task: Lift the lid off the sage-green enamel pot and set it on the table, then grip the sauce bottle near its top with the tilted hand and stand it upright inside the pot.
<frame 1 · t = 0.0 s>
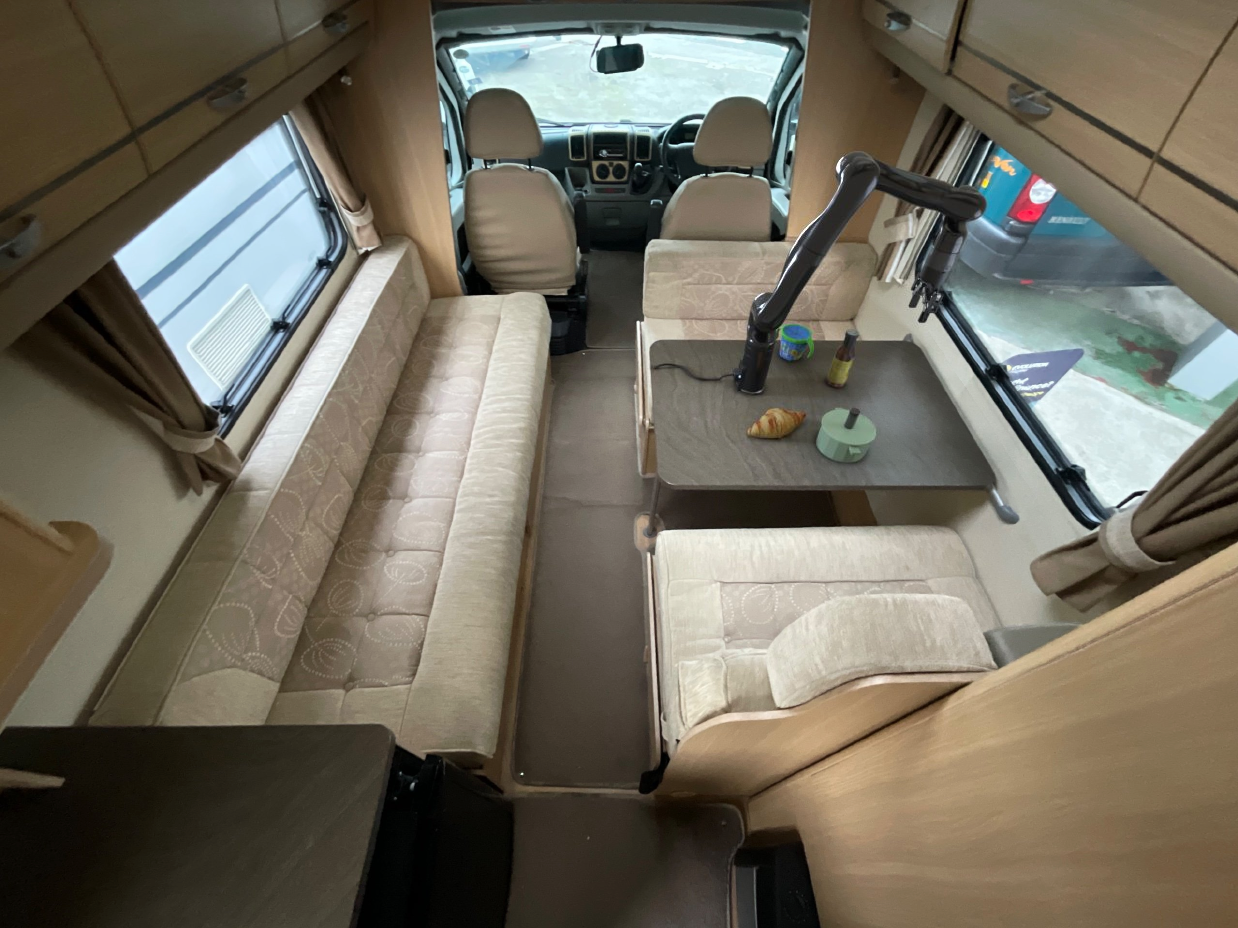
hand: (916, 314, 169), 29 cm above the table, tool pointing down, fingers open, 8 cm apart
pot: (840, 445, 170), on the table
sauce bottle: (834, 383, 193), on the table
pot lid: (848, 427, 165), point 7 cm above the table, touching pot
croissant: (774, 428, 176), on the table
snack cup: (789, 356, 203), on the table
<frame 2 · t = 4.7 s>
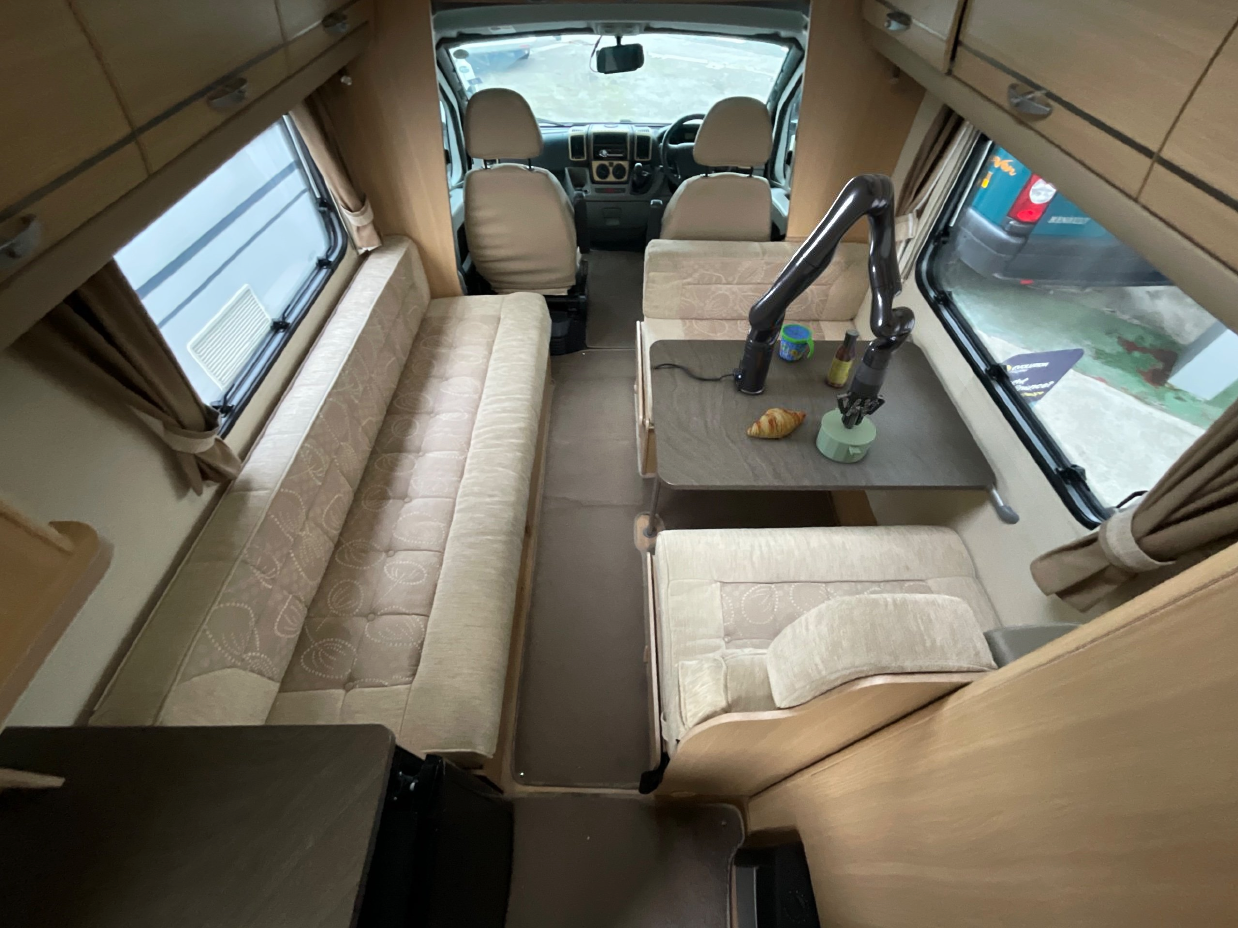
hand: (850, 423, 164), 9 cm above the table, tool pointing down, fingers closed on pot lid, 3 cm apart
pot lid: (848, 427, 165), point 7 cm above the table, touching gripper, pot
everything else where it was.
when the fingers open (2 cm above the table, at t = 12.7 s): pot lid stays where it is, point 1 cm above the table.
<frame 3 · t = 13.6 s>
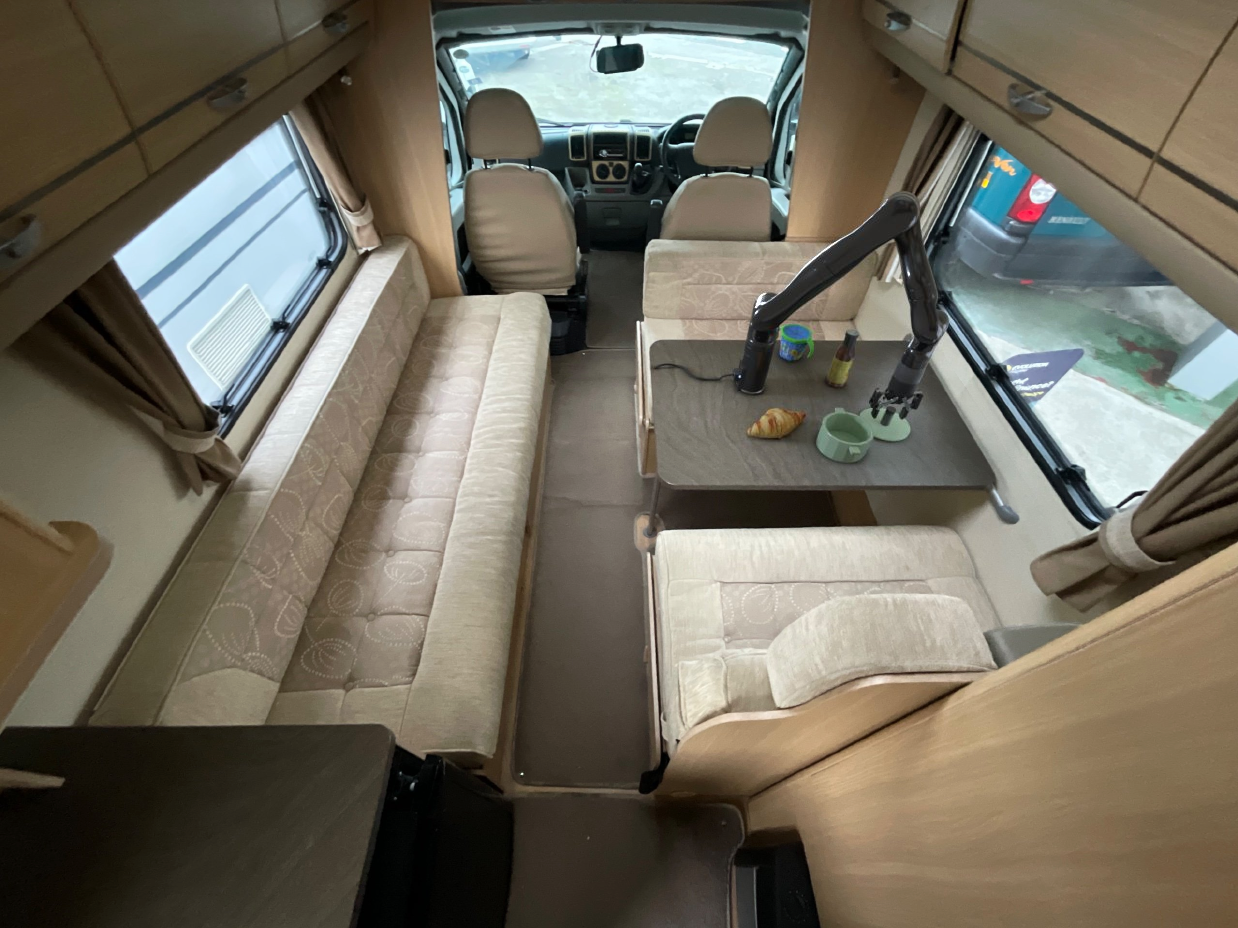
hand: (887, 417, 175), 4 cm above the table, tool pointing down, fingers open, 8 cm apart
pot lid: (883, 424, 177), point 1 cm above the table
everything else where it was.
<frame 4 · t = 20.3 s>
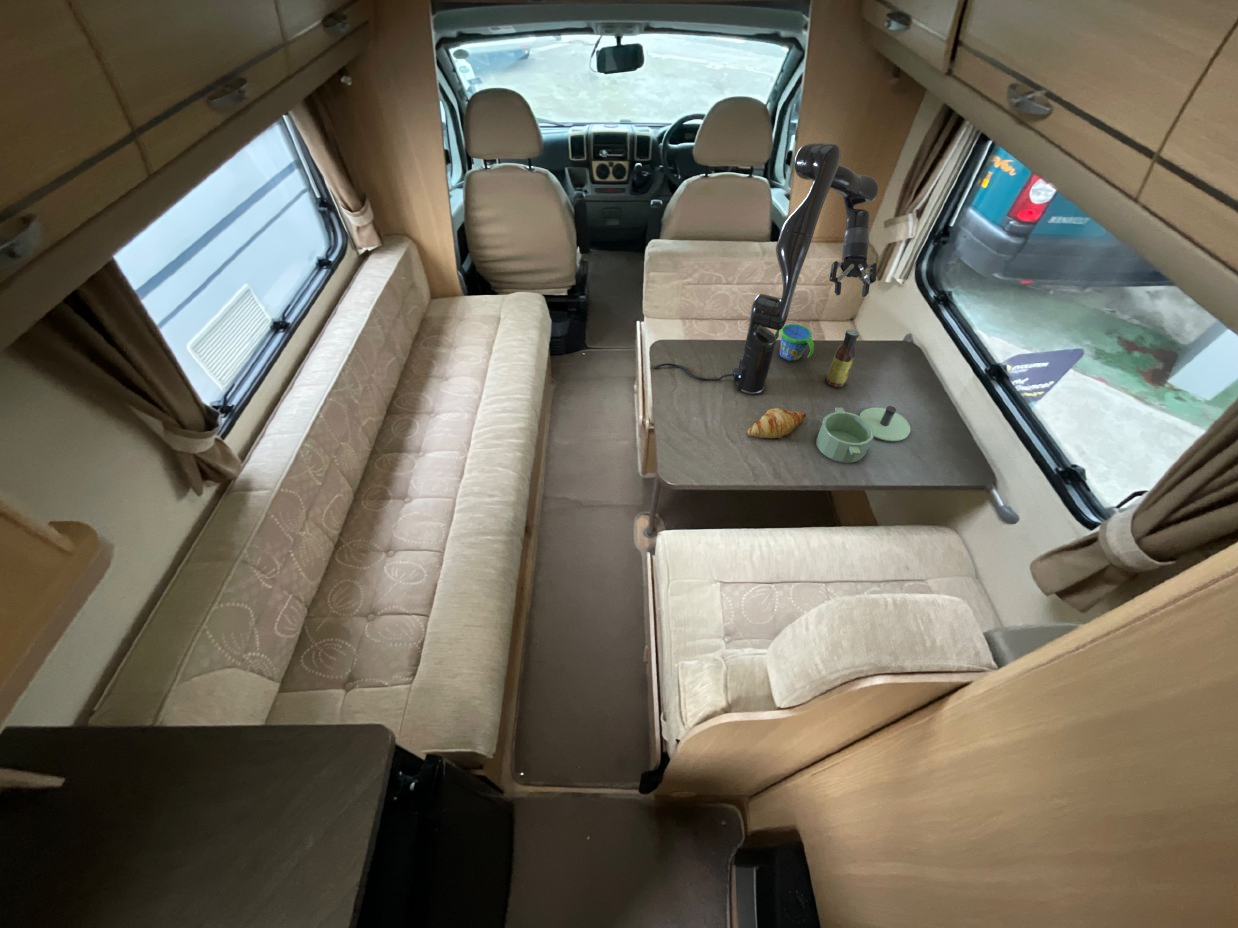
hand: (851, 295, 182), 26 cm above the table, tool tilted 40°, fingers open, 8 cm apart
nothing on the table moved.
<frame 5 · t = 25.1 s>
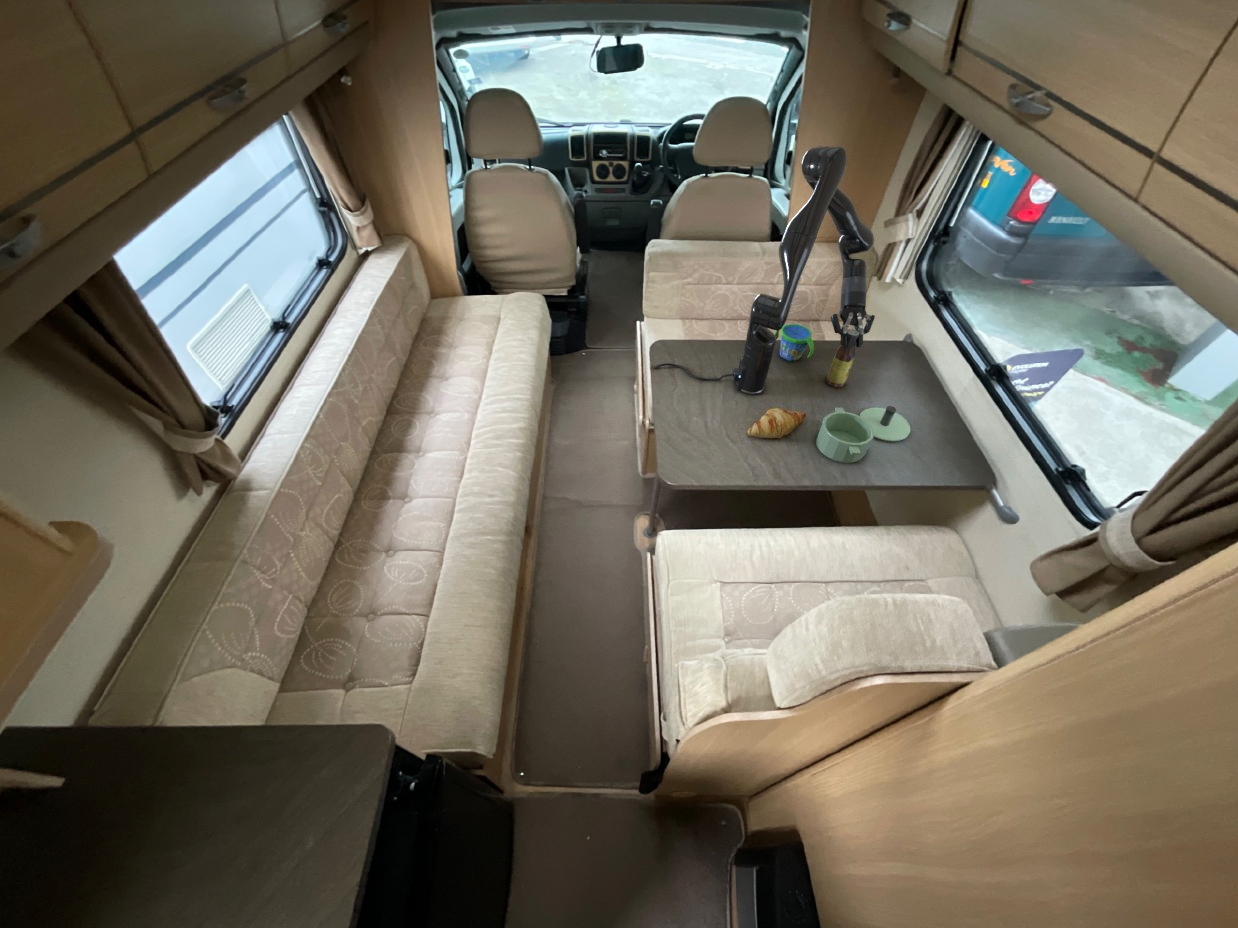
hand: (851, 346, 180), 16 cm above the table, tool tilted 45°, fingers closed on sauce bottle, 4 cm apart
sauce bottle: (834, 383, 193), on the table, touching gripper
everything else where it was.
when the fingers open (17 cm above the table, at t = 36.0 s): sauce bottle stays where it is, resting on pot.
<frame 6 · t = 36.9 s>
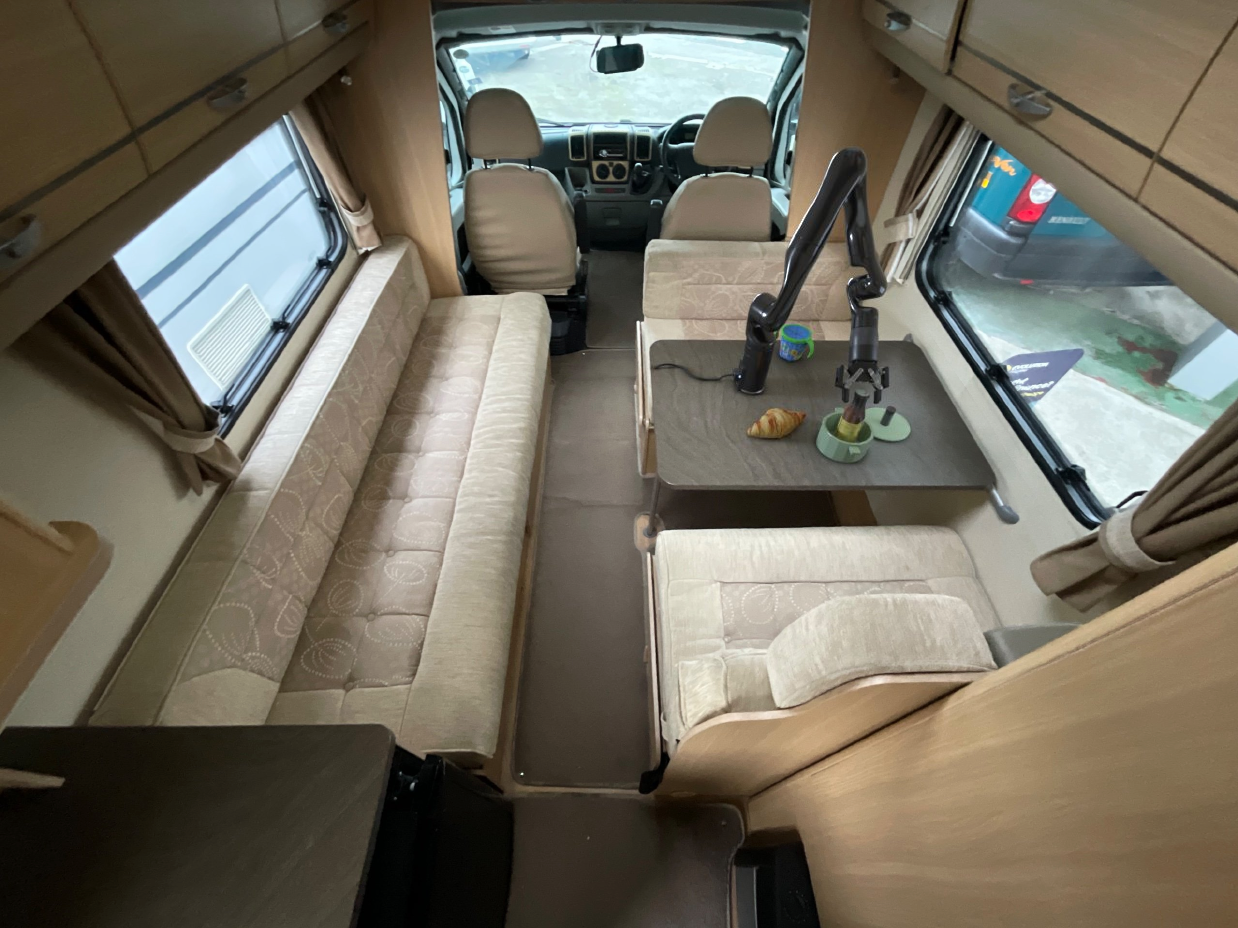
hand: (861, 403, 157), 18 cm above the table, tool tilted 45°, fingers open, 8 cm apart
sauce bottle: (841, 444, 170), resting on pot
everything else where it was.
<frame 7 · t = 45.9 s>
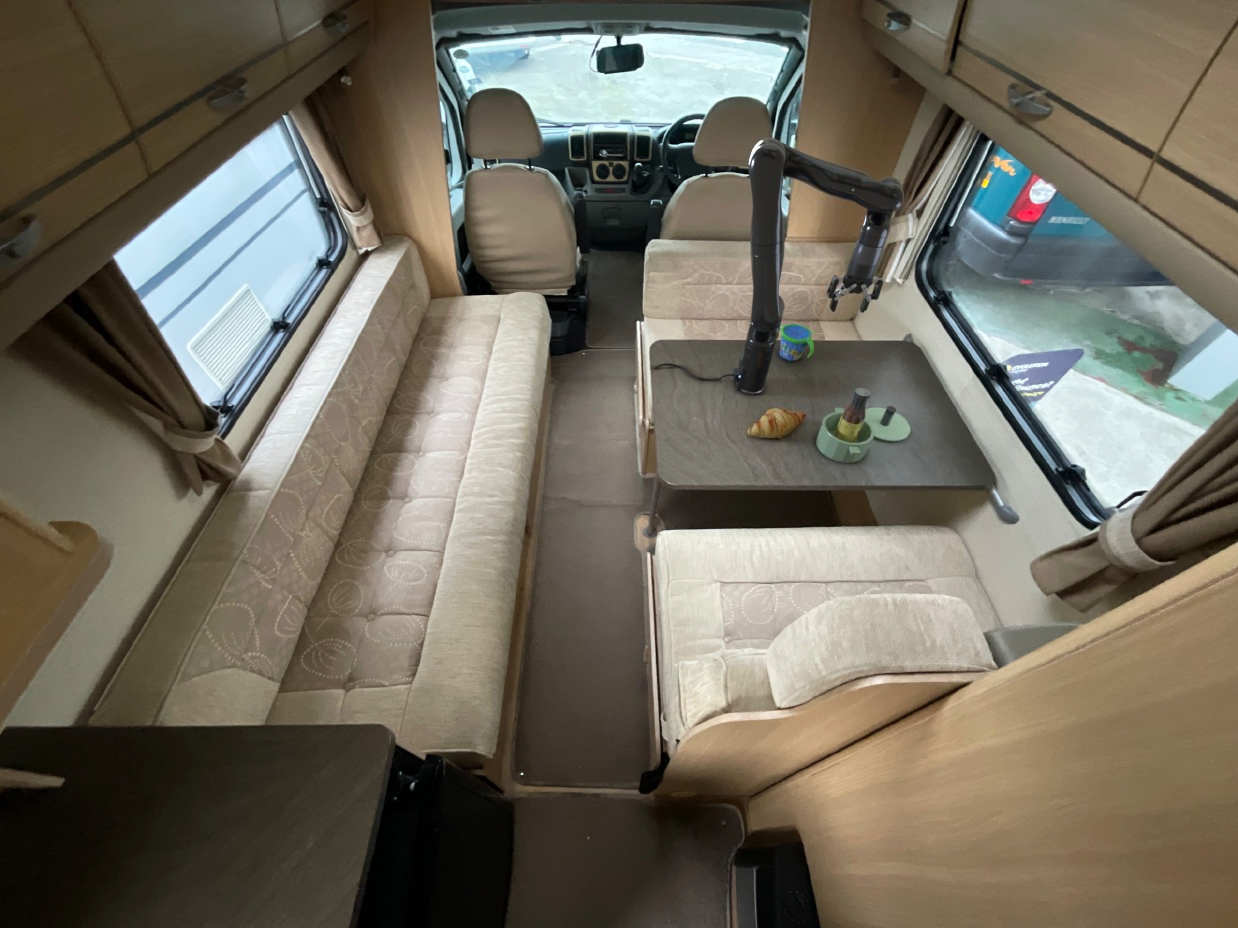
hand: (846, 311, 164), 32 cm above the table, tool pointing down, fingers open, 8 cm apart
nothing on the table moved.
at the end: sauce bottle 0.5 cm off-centre in the pot, point 0.3 cm above the pot's base; sauce bottle tilted 0°; pot lid inside the target area (0.1 cm from its centre), point 0.6 cm above the table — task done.
